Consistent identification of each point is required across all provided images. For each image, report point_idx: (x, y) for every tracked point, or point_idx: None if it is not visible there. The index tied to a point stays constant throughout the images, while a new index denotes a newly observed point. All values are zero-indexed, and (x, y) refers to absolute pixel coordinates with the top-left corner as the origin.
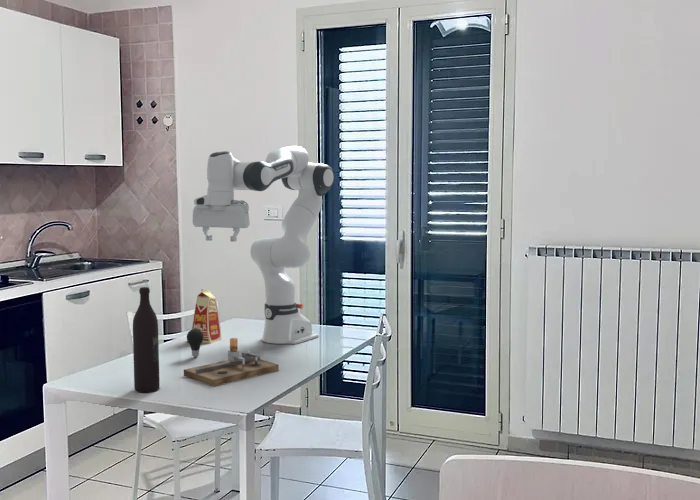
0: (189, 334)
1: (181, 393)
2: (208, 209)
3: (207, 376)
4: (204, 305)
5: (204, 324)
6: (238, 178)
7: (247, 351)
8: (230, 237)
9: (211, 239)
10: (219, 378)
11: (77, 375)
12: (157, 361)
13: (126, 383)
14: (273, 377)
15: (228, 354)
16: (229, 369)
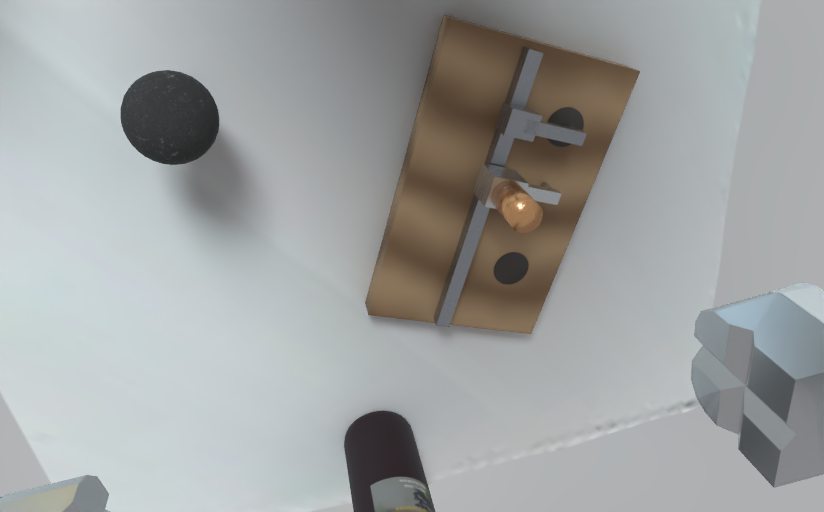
0: (169, 163)
1: (483, 403)
2: None
3: (493, 322)
4: None
5: None
6: None
7: (518, 109)
8: (757, 462)
9: (93, 501)
10: (538, 314)
11: (62, 479)
12: (428, 488)
13: (276, 437)
14: (646, 150)
15: (481, 201)
16: (509, 228)
